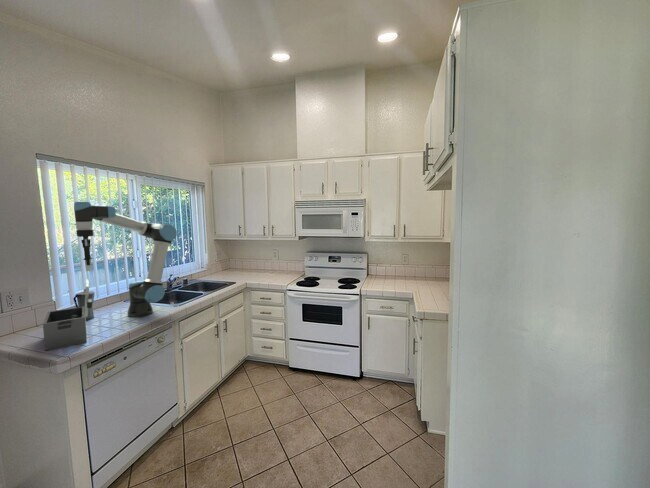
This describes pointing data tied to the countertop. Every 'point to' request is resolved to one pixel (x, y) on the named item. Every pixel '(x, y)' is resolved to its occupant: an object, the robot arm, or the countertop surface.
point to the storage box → (64, 328)
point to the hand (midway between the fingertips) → (88, 270)
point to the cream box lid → (87, 301)
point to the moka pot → (82, 302)
